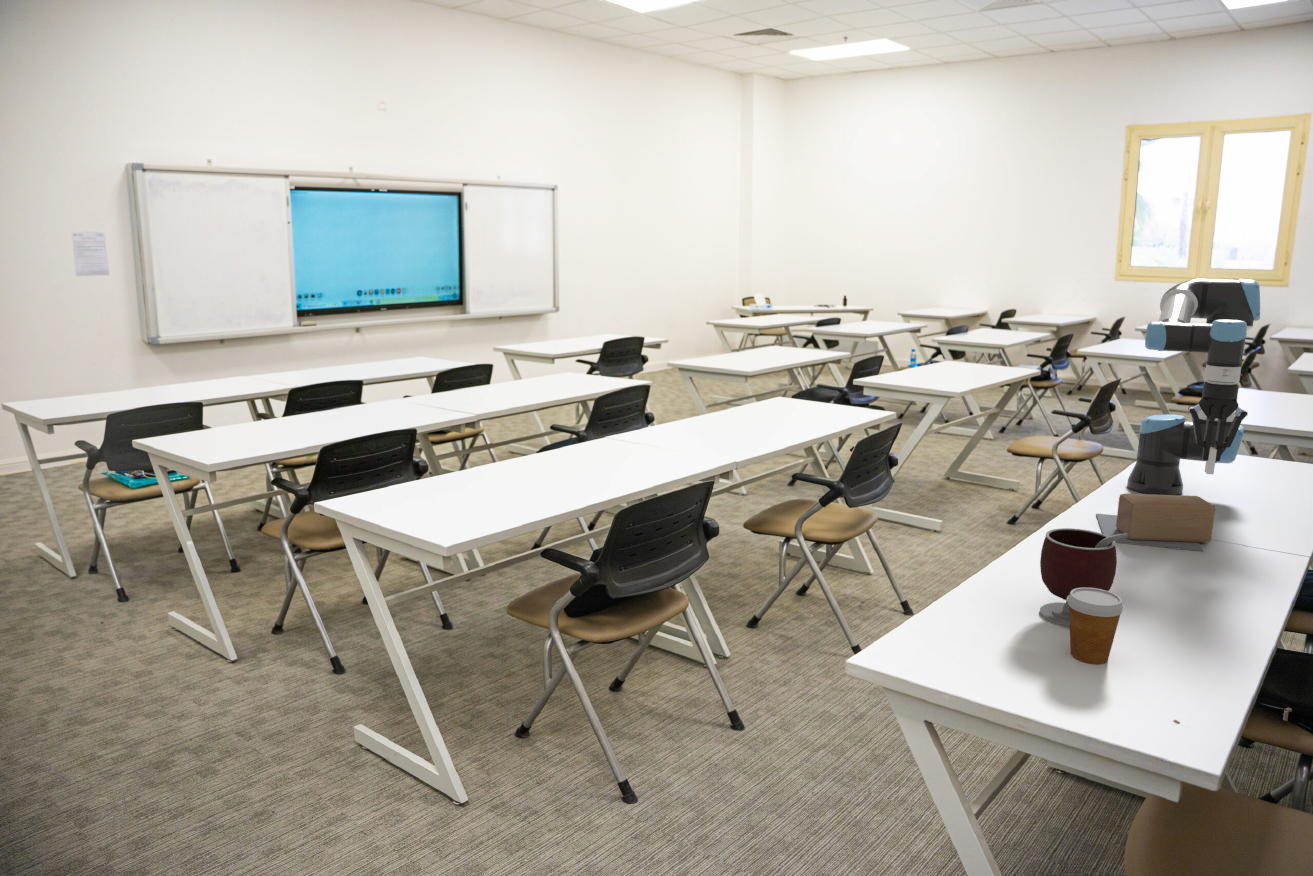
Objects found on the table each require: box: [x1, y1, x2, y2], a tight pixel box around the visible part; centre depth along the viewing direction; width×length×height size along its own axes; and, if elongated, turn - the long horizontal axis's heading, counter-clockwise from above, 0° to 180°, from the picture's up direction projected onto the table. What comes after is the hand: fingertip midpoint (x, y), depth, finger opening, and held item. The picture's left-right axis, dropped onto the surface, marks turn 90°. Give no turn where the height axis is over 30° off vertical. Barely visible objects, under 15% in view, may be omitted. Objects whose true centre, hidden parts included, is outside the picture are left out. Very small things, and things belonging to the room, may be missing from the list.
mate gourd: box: [1039, 527, 1128, 629], centre depth 180 cm, size 16×14×20 cm
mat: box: [1095, 512, 1204, 552], centre depth 235 cm, size 24×22×1 cm
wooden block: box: [1116, 493, 1216, 543], centre depth 230 cm, size 10×10×20 cm
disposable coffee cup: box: [1067, 587, 1125, 665], centre depth 164 cm, size 10×10×12 cm
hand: (1209, 472), depth 228 cm, fingers closed
